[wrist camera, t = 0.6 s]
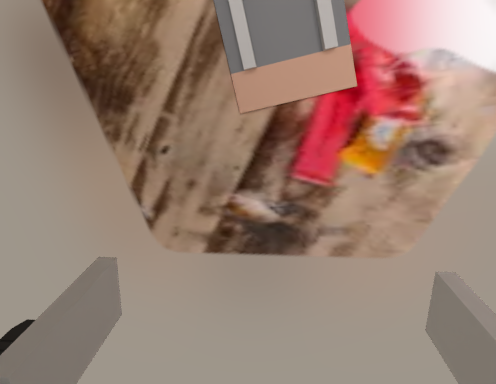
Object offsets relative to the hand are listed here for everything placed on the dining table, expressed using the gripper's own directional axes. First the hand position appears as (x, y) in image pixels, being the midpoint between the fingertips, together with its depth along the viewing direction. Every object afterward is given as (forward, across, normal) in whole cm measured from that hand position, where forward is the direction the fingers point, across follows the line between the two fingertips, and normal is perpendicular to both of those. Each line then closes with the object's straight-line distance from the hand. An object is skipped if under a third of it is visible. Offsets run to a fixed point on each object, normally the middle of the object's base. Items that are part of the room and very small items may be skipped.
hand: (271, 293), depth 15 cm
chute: (+26, 0, +17) cm, 31 cm away
